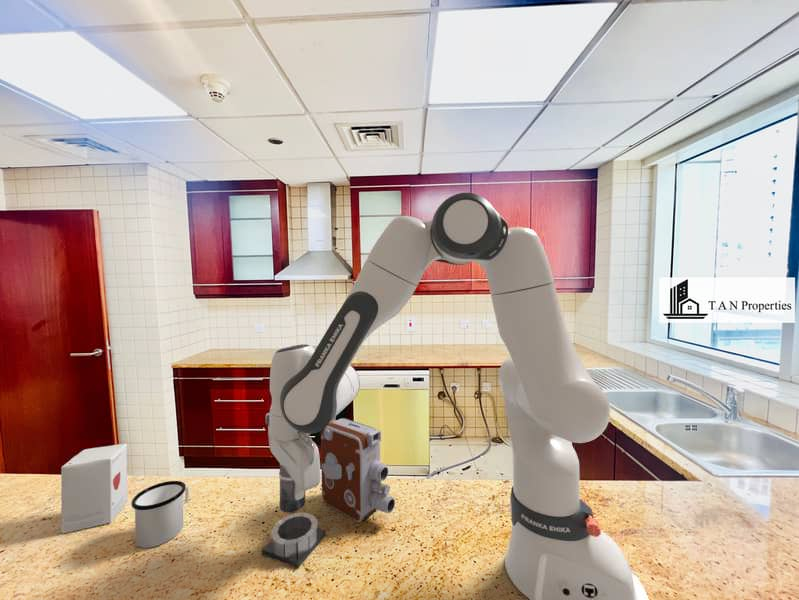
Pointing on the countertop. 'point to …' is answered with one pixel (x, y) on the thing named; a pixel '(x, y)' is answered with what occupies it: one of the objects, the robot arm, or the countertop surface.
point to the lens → (288, 493)
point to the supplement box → (93, 487)
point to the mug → (159, 513)
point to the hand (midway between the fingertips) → (292, 489)
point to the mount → (294, 539)
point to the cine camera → (353, 470)
